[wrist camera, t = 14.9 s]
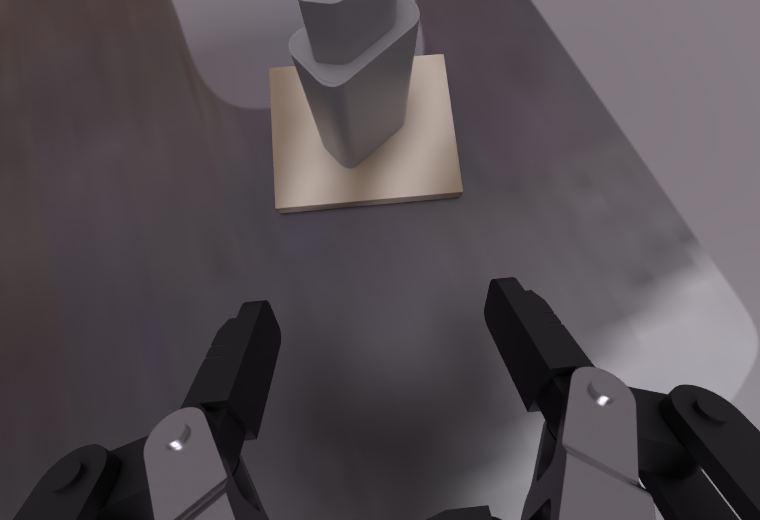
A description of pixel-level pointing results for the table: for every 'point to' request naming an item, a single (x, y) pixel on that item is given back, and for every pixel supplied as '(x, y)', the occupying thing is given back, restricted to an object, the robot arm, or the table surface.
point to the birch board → (380, 169)
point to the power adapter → (356, 71)
